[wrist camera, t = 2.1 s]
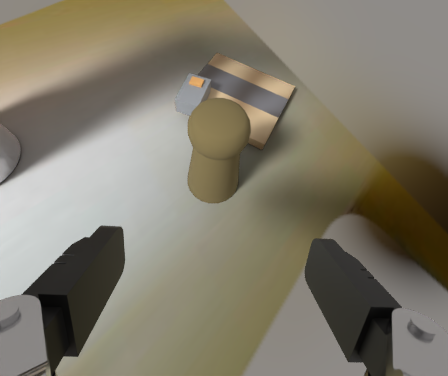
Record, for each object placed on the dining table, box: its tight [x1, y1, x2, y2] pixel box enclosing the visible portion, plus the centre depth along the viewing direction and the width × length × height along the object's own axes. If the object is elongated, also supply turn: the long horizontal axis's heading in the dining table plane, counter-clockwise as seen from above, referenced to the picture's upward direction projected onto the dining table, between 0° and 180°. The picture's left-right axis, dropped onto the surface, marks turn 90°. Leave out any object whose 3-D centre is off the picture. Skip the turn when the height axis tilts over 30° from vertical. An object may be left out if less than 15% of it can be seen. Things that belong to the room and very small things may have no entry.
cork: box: [188, 98, 251, 203], centre depth 22 cm, size 6×6×11 cm
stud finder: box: [175, 73, 211, 115], centre depth 30 cm, size 3×5×2 cm, turn 163°
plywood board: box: [175, 53, 295, 150], centre depth 32 cm, size 13×12×1 cm
